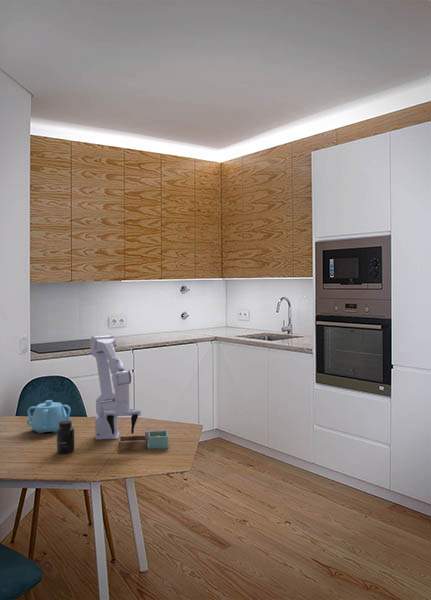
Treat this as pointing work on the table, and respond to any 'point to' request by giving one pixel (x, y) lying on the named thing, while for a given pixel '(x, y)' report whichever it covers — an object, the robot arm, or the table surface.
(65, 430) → the supplement bottle
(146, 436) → the plunger
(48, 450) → the table surface
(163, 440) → the teal open box
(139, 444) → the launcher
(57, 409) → the decorative pot
